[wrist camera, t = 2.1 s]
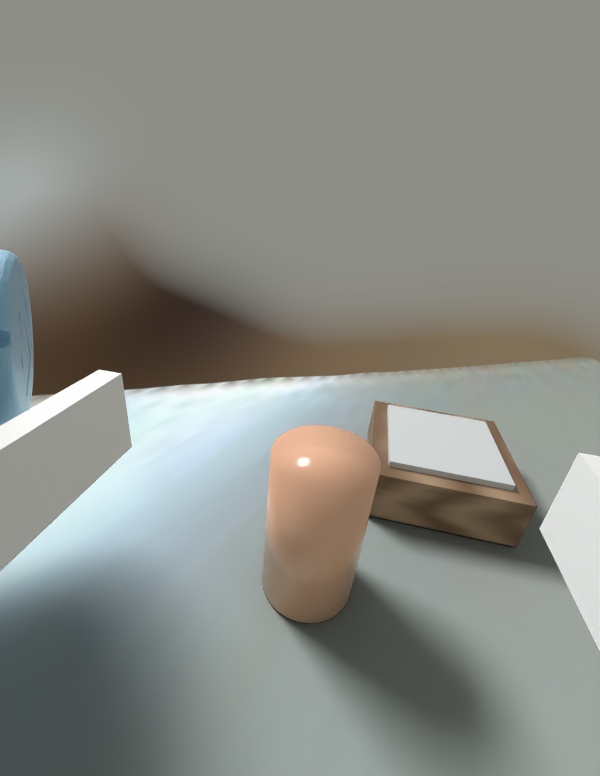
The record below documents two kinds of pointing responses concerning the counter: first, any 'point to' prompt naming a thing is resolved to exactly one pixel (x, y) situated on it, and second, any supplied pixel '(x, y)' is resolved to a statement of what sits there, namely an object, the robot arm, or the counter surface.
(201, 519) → the counter surface
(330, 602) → the peach glossy cylinder
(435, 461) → the walnut base
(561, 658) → the counter surface
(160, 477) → the counter surface
